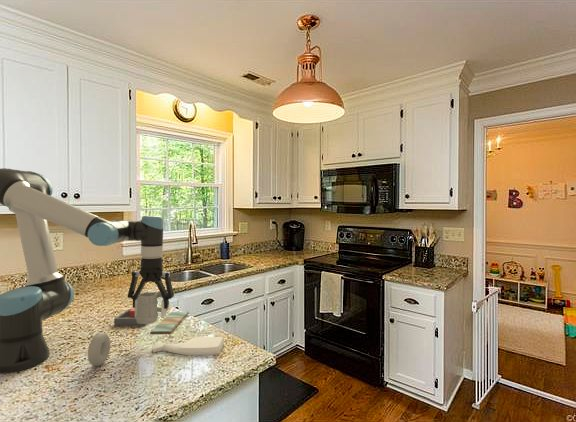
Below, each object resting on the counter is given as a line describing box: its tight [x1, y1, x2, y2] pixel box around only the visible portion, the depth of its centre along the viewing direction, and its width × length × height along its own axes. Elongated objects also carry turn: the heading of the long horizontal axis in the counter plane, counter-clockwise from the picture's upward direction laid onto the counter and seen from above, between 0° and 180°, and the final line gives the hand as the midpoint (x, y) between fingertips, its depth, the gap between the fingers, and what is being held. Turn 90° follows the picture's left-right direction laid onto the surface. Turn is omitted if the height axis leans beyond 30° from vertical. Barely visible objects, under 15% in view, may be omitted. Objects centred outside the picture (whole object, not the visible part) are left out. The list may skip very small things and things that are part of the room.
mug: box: [136, 291, 169, 325], centre depth 120 cm, size 8×12×12 cm, turn 130°
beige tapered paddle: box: [151, 336, 225, 356], centre depth 115 cm, size 3×11×24 cm
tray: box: [113, 308, 147, 327], centre depth 143 cm, size 13×13×3 cm
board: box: [149, 311, 190, 334], centre depth 141 cm, size 24×8×1 cm, turn 1°
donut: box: [87, 332, 111, 367], centre depth 103 cm, size 10×3×10 cm, turn 4°
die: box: [129, 307, 135, 318], centre depth 143 cm, size 5×5×5 cm
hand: (150, 316), depth 120 cm, fingers closed on mug, 9 cm apart
